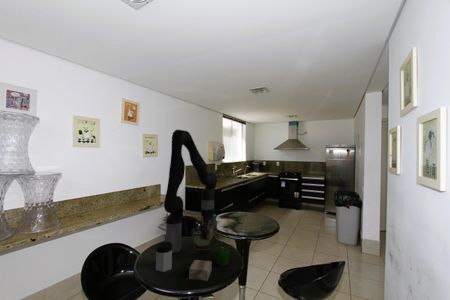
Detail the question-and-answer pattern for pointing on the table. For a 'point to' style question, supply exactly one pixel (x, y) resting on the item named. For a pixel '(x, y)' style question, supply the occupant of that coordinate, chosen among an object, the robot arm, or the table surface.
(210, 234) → the walnut cube
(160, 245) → the jar
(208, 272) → the maple base
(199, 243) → the food container
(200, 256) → the table surface
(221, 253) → the bell pepper
